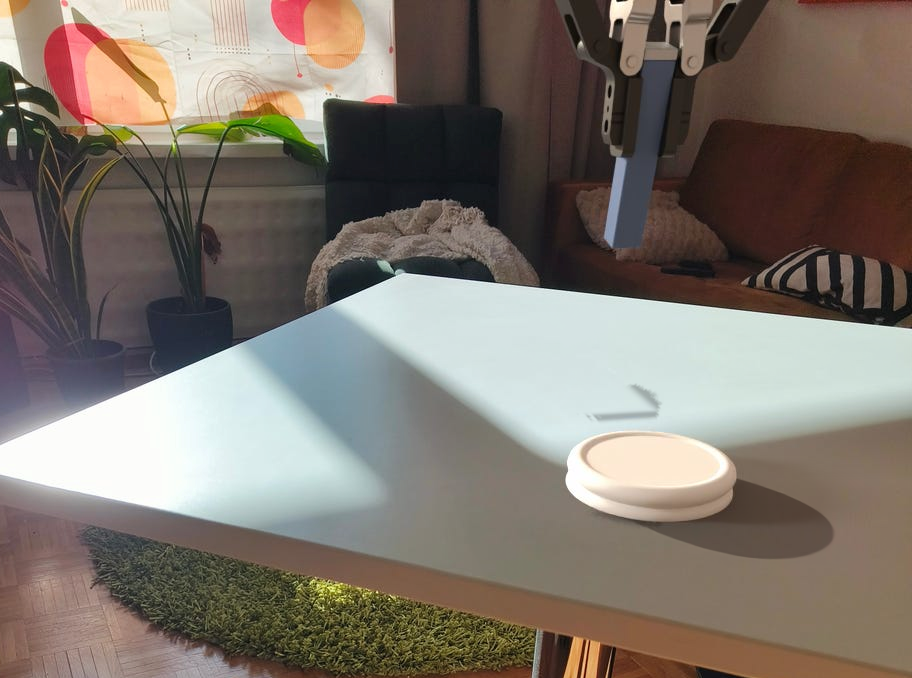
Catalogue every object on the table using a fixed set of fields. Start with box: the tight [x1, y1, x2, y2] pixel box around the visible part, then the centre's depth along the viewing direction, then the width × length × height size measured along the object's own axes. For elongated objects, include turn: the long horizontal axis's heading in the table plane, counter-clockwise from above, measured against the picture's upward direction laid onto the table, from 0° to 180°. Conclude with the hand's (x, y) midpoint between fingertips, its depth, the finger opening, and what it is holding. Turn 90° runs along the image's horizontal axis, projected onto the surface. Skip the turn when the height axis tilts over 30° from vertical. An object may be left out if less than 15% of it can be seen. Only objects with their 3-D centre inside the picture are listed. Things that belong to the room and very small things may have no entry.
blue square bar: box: [603, 41, 678, 250], centre depth 50 cm, size 2×2×10 cm
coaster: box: [565, 430, 738, 523], centre depth 54 cm, size 10×10×4 cm
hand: (642, 154), depth 49 cm, fingers closed on blue square bar, 2 cm apart
